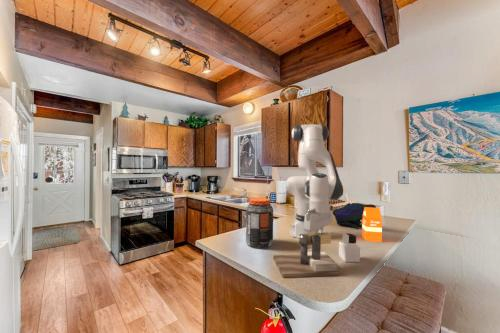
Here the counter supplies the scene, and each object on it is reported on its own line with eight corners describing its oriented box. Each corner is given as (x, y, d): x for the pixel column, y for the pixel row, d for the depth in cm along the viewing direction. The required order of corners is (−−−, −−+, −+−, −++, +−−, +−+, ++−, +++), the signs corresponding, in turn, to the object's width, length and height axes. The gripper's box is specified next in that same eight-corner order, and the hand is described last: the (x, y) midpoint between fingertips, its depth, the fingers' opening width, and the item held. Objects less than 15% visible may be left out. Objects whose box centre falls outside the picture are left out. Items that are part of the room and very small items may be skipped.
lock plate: (273, 258, 104) (273, 228, 104) (320, 257, 107) (321, 228, 107) (282, 277, 86) (283, 241, 86) (339, 275, 89) (340, 240, 89)
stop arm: (302, 246, 94) (302, 236, 94) (298, 242, 98) (298, 234, 98) (331, 243, 97) (331, 235, 97) (326, 240, 101) (326, 232, 101)
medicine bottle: (352, 256, 109) (352, 232, 109) (360, 262, 101) (360, 237, 102) (338, 256, 108) (338, 232, 108) (345, 262, 101) (345, 236, 101)
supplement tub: (256, 237, 135) (257, 196, 135) (278, 243, 125) (278, 199, 125) (239, 244, 122) (240, 199, 123) (262, 251, 113) (262, 202, 113)
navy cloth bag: (339, 234, 173) (381, 229, 162) (334, 229, 153) (382, 222, 141) (333, 209, 183) (372, 203, 171) (328, 201, 162) (372, 193, 151)
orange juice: (381, 242, 130) (382, 209, 130) (366, 240, 132) (366, 208, 132) (376, 237, 138) (377, 206, 138) (362, 236, 140) (362, 206, 140)
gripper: (312, 211, 92) (312, 243, 92) (335, 206, 106) (334, 234, 106) (300, 209, 97) (300, 240, 97) (323, 204, 111) (323, 231, 111)
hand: (318, 236), depth 102 cm, fingers closed
